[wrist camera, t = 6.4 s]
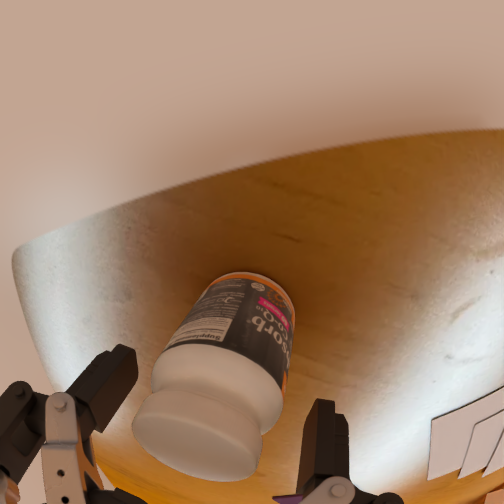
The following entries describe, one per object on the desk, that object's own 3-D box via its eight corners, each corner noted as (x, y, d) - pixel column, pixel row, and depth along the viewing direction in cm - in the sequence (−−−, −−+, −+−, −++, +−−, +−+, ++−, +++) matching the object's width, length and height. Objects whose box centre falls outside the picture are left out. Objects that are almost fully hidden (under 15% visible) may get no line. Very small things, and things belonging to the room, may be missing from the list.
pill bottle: (310, 332, 17) (299, 484, 8) (230, 356, 19) (180, 484, 10) (269, 252, 16) (215, 396, 6) (184, 287, 17) (91, 407, 8)
